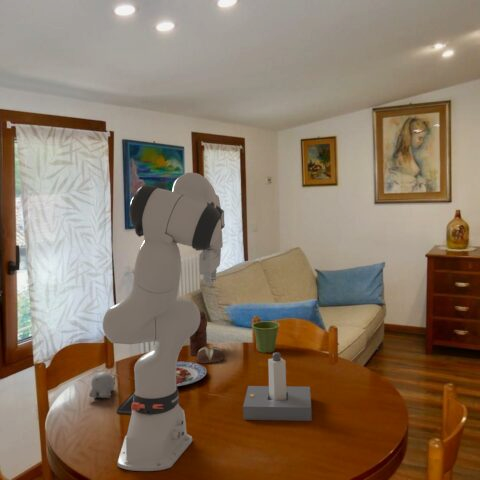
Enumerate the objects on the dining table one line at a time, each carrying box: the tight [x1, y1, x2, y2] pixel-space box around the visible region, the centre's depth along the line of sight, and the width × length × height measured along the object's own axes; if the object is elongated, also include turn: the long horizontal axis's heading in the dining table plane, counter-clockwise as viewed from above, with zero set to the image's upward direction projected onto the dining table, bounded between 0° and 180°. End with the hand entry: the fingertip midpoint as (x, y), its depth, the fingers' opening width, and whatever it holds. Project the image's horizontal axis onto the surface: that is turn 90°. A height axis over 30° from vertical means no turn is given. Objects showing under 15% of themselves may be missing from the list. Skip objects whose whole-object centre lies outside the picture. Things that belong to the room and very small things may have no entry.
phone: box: [116, 392, 134, 415], centre depth 163 cm, size 8×1×15 cm
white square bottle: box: [267, 352, 287, 400], centre depth 155 cm, size 4×4×17 cm
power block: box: [242, 385, 313, 422], centre depth 156 cm, size 16×20×4 cm
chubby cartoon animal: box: [88, 371, 116, 399], centre depth 171 cm, size 7×12×8 cm, turn 165°
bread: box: [196, 346, 225, 364], centre depth 205 cm, size 11×11×5 cm
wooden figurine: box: [188, 309, 208, 356], centre depth 215 cm, size 12×6×18 cm, turn 170°
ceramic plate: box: [176, 361, 207, 387], centre depth 185 cm, size 26×26×3 cm
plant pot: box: [251, 320, 281, 354], centre depth 214 cm, size 12×12×11 cm
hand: (210, 283), depth 168 cm, fingers open, 8 cm apart
